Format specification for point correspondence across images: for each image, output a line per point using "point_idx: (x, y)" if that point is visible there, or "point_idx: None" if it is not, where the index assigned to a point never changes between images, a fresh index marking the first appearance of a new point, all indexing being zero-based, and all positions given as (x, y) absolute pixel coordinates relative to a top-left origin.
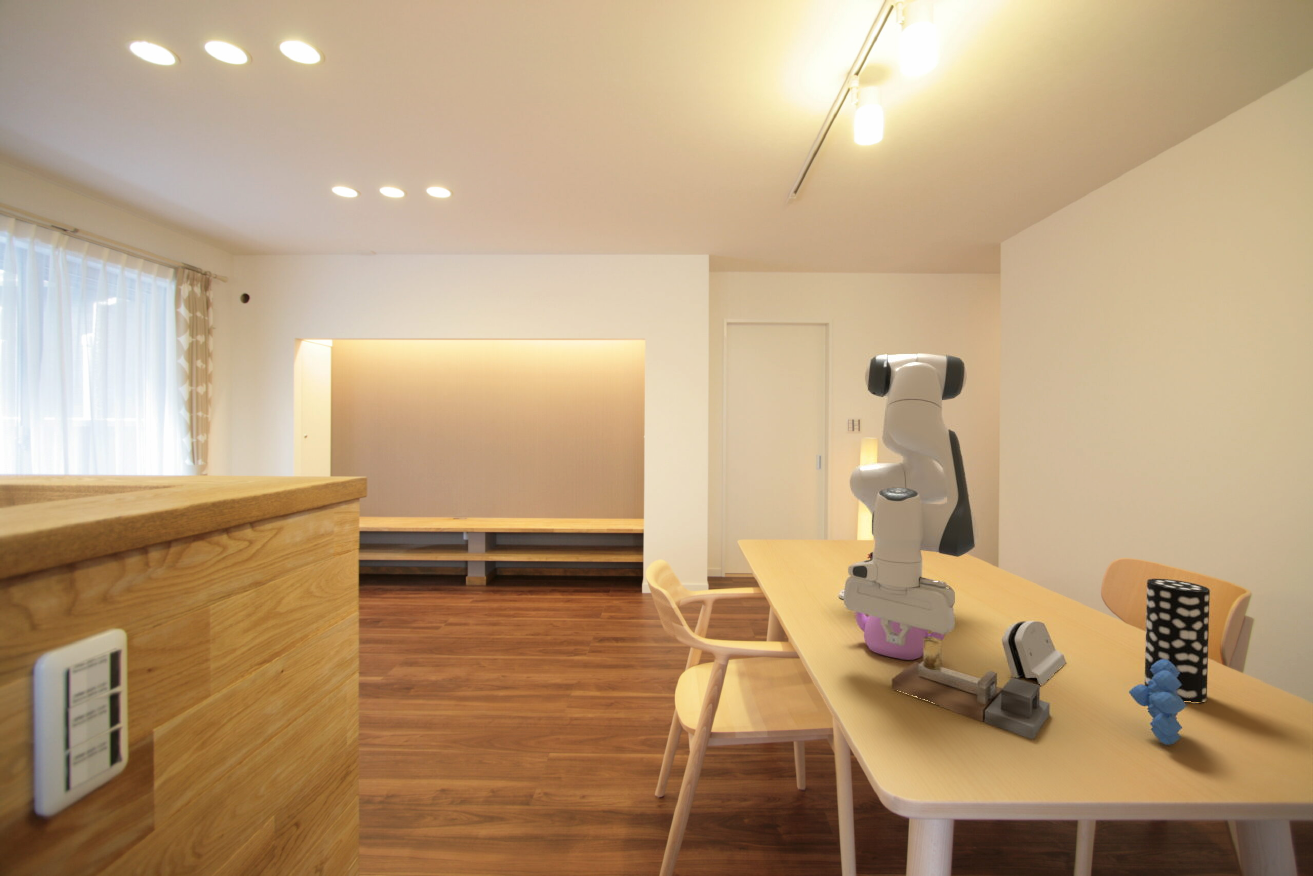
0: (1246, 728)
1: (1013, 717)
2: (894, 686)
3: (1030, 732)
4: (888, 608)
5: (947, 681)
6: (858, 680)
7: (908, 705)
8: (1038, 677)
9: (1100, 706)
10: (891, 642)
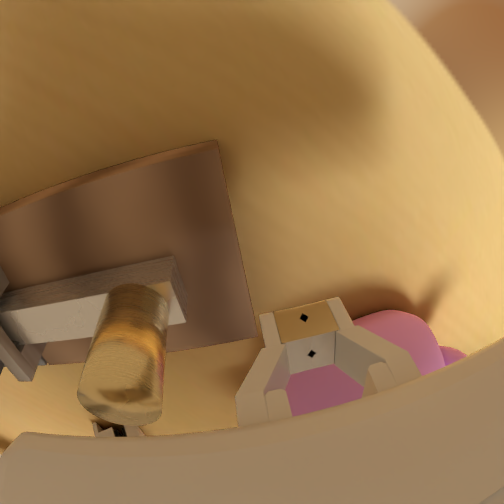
0: None
1: None
2: (206, 145)
3: None
4: (405, 474)
5: (77, 283)
6: (335, 101)
7: (109, 93)
8: (96, 433)
9: (26, 412)
10: (312, 303)
